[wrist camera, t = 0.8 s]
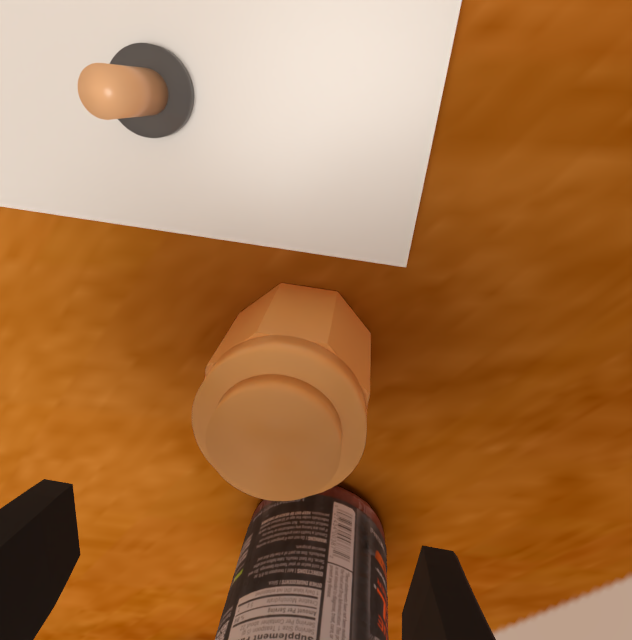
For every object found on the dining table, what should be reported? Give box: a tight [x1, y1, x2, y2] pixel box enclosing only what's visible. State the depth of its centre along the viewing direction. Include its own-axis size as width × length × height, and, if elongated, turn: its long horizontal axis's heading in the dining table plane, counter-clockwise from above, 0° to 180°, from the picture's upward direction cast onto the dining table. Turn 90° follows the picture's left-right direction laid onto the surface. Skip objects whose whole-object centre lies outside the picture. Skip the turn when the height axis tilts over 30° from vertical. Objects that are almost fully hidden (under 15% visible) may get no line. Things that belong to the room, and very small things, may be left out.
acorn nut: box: [192, 283, 371, 501], centre depth 16 cm, size 5×5×6 cm
